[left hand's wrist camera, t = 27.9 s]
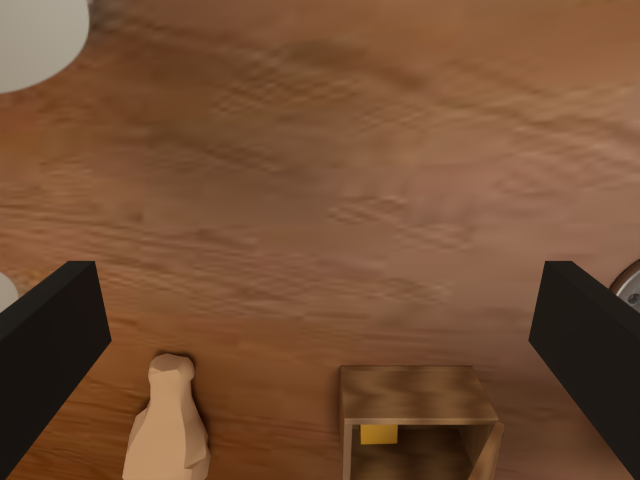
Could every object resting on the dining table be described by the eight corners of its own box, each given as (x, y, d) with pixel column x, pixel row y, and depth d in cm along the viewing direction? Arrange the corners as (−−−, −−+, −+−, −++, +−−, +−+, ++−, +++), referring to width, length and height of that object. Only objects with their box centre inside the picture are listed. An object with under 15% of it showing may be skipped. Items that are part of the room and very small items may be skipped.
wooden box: (339, 429, 60) (342, 488, 51) (340, 365, 56) (344, 418, 47) (461, 429, 60) (485, 488, 51) (472, 365, 56) (499, 418, 47)
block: (357, 417, 58) (360, 444, 53) (357, 390, 56) (360, 416, 52) (391, 416, 58) (397, 443, 53) (392, 388, 56) (398, 415, 52)
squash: (147, 463, 62) (107, 515, 53) (144, 336, 57) (100, 372, 49) (218, 477, 61) (189, 534, 52) (222, 349, 56) (191, 388, 47)
